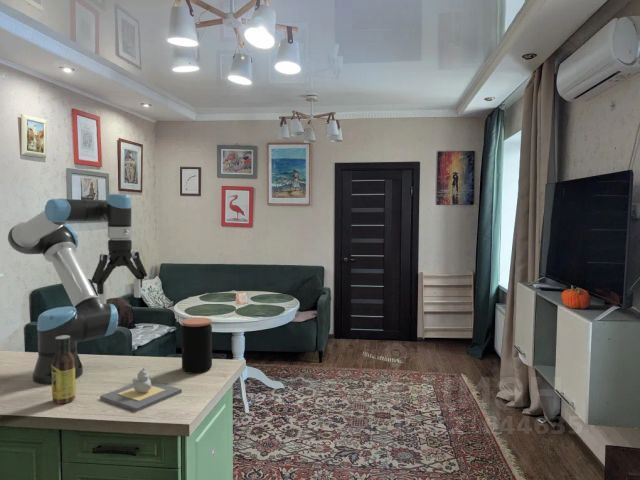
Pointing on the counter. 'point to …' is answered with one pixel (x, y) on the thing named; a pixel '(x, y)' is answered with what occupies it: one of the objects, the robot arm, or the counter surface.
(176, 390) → the board
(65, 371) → the sauce bottle
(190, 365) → the coffee jar
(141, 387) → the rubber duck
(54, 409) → the counter surface
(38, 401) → the counter surface
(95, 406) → the counter surface
